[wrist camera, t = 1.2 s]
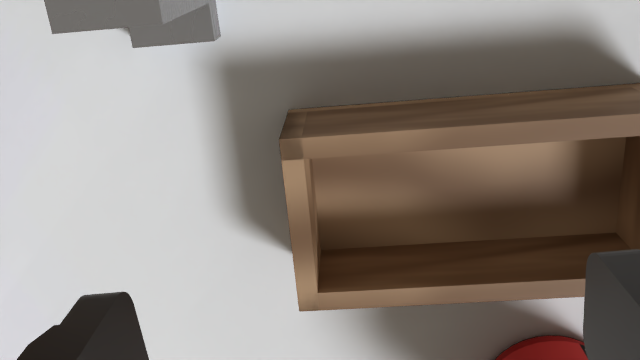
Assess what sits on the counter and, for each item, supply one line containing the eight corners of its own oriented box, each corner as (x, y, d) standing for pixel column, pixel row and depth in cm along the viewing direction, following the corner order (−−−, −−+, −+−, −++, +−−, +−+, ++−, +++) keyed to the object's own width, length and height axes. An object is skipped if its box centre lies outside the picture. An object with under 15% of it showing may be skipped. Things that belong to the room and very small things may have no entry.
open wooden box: (288, 109, 31) (278, 139, 26) (646, 82, 30) (702, 108, 25) (305, 261, 34) (299, 311, 30) (628, 242, 33) (674, 291, 28)
